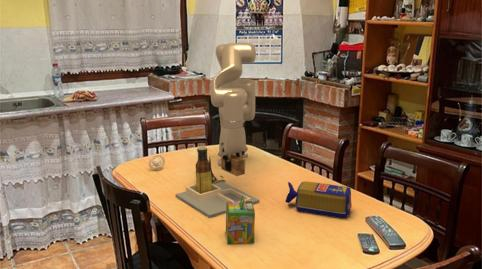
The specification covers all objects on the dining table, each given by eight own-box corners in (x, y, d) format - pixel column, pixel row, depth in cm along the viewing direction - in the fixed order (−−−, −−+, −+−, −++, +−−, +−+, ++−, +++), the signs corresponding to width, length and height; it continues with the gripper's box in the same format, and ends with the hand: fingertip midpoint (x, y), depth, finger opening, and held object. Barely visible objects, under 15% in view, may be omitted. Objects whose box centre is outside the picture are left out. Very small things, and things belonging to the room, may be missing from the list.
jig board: (223, 184, 205) (223, 175, 204) (259, 202, 186) (259, 192, 184) (175, 196, 191) (175, 187, 189) (209, 218, 171) (209, 207, 170)
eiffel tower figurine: (198, 189, 200) (197, 159, 197) (190, 181, 209) (189, 153, 206) (230, 183, 207) (230, 155, 203) (221, 176, 215) (220, 149, 212)
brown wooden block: (229, 167, 188) (229, 153, 186) (244, 174, 180) (244, 159, 178) (221, 169, 185) (221, 154, 184) (236, 176, 178) (236, 161, 176)
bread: (348, 221, 170) (350, 195, 167) (283, 210, 179) (283, 185, 176) (352, 210, 179) (354, 185, 177) (290, 200, 188) (290, 176, 185)
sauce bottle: (214, 193, 191) (214, 147, 186) (207, 198, 186) (206, 151, 181) (200, 190, 194) (200, 145, 189) (193, 196, 188) (192, 149, 183)
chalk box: (225, 231, 161) (225, 192, 157) (251, 231, 162) (252, 191, 158) (227, 245, 153) (227, 203, 149) (254, 244, 153) (255, 202, 149)
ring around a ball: (163, 167, 225) (162, 151, 223) (168, 171, 220) (167, 155, 218) (147, 170, 221) (147, 154, 219) (152, 174, 216) (151, 157, 214)
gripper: (244, 119, 185) (244, 162, 190) (209, 125, 176) (210, 171, 180) (256, 122, 180) (255, 167, 184) (220, 129, 170) (221, 176, 175)
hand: (233, 168), depth 182 cm, fingers closed on brown wooden block, 4 cm apart
